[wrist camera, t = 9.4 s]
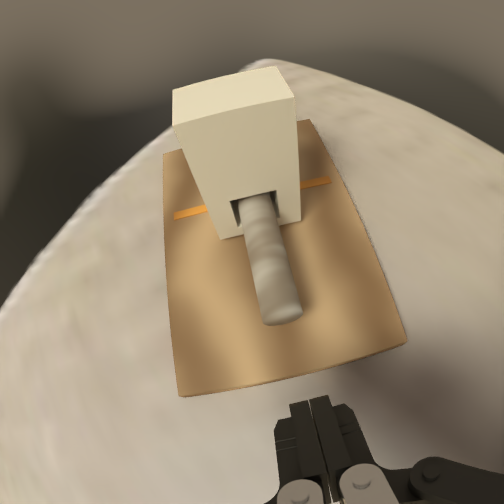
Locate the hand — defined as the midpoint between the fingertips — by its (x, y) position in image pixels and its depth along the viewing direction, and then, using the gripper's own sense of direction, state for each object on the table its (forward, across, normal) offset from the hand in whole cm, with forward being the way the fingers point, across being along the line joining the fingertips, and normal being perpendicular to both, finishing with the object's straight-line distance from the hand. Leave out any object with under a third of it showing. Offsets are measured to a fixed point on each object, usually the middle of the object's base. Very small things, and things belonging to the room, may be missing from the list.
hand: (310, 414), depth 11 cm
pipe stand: (+17, 0, -4) cm, 17 cm away
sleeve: (+17, 0, -6) cm, 18 cm away
